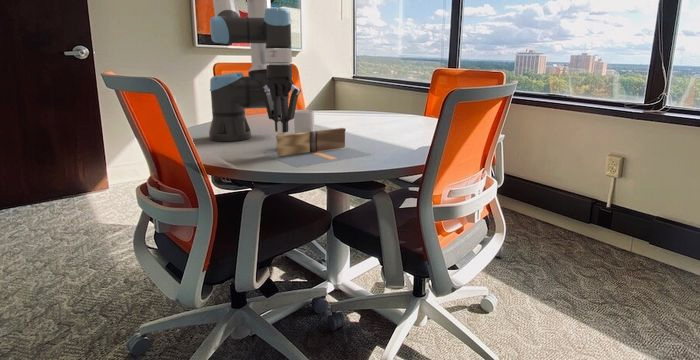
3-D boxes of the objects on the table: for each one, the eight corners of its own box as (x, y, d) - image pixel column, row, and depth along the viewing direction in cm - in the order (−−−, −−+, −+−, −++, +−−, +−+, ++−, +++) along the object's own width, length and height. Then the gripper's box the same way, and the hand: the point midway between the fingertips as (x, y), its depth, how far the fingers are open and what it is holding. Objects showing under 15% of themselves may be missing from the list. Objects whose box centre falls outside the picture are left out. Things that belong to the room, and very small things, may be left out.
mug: (316, 148, 154) (315, 112, 150) (295, 149, 152) (294, 112, 149) (311, 142, 163) (311, 108, 160) (292, 143, 162) (291, 108, 158)
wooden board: (307, 151, 146) (306, 132, 144) (310, 152, 144) (309, 132, 143) (276, 155, 140) (275, 135, 138) (279, 156, 138) (278, 136, 137)
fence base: (308, 151, 146) (307, 131, 144) (342, 146, 154) (342, 127, 152) (311, 152, 145) (311, 132, 143) (345, 147, 152) (345, 128, 150)
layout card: (262, 155, 144) (262, 153, 143) (334, 144, 159) (334, 143, 159) (296, 169, 127) (296, 167, 127) (372, 156, 143) (372, 154, 143)
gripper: (253, 64, 135) (257, 143, 141) (292, 64, 130) (295, 146, 137) (266, 63, 141) (270, 139, 148) (304, 63, 137) (306, 141, 143)
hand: (282, 142), depth 142 cm, fingers closed
